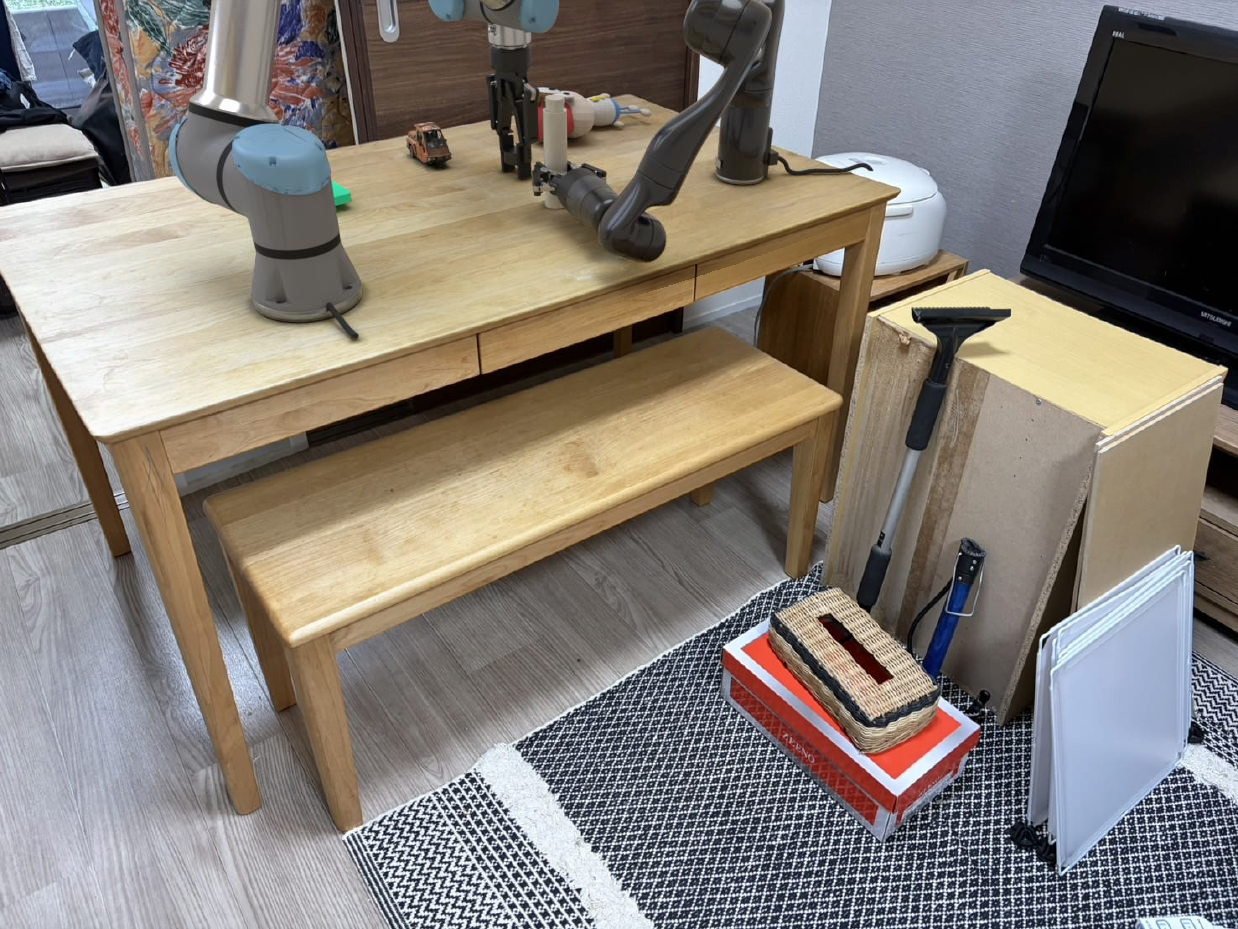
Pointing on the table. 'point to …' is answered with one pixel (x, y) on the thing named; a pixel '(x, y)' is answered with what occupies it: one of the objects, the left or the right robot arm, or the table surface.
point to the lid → (510, 155)
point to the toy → (586, 111)
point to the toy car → (428, 144)
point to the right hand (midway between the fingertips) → (549, 165)
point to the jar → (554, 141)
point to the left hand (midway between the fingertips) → (516, 173)
